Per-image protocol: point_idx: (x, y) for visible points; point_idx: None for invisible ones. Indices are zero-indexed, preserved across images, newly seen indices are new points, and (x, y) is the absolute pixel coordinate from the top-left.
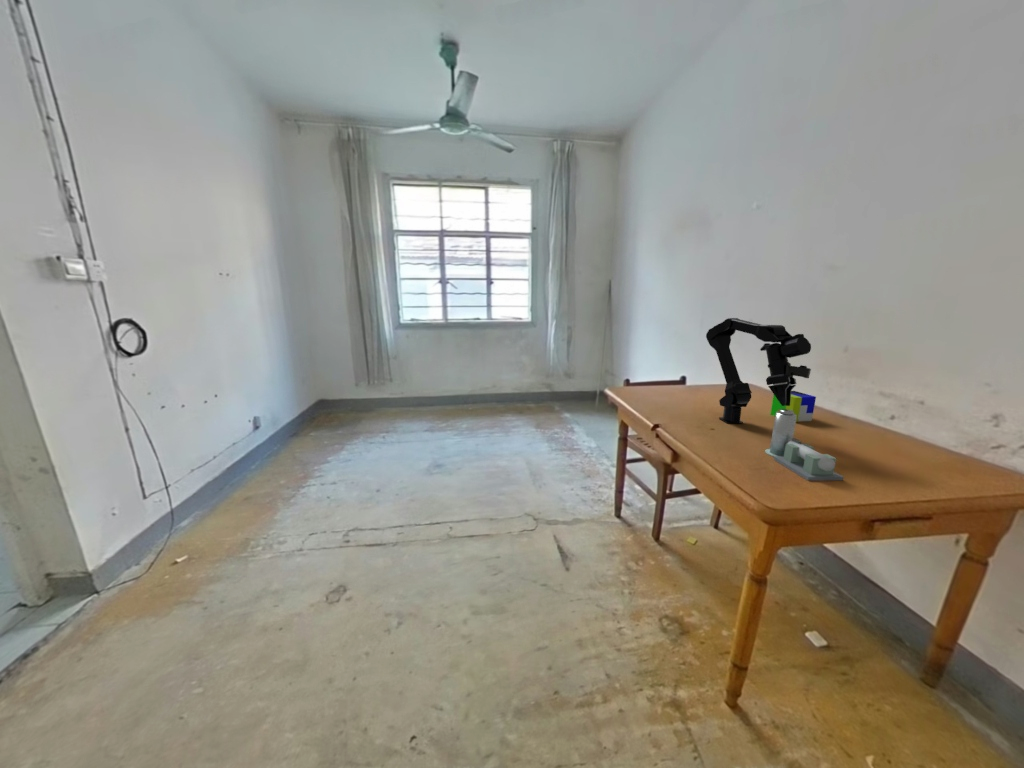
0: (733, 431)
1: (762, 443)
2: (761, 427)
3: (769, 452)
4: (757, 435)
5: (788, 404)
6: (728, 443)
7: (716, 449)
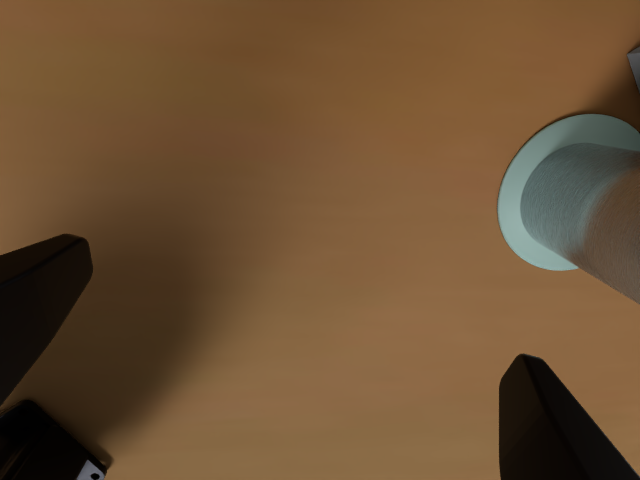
0: (258, 427)
1: (413, 282)
2: None
3: None
4: (256, 310)
5: (79, 261)
6: None
7: None
